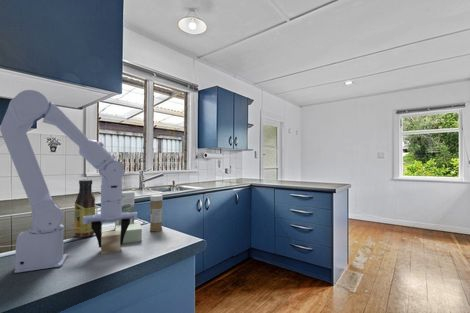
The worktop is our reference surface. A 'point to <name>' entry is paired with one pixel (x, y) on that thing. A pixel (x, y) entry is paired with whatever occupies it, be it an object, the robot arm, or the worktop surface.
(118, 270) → the worktop surface
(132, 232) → the sage block
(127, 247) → the worktop surface
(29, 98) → the robot arm
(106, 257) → the worktop surface
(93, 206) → the sauce bottle
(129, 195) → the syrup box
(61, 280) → the worktop surface
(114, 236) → the birch cube
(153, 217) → the sprinkles bottle
